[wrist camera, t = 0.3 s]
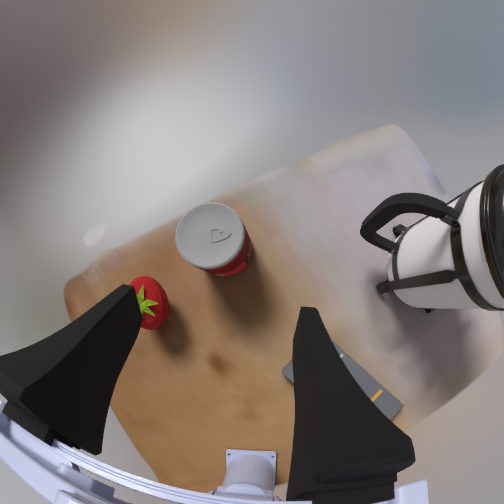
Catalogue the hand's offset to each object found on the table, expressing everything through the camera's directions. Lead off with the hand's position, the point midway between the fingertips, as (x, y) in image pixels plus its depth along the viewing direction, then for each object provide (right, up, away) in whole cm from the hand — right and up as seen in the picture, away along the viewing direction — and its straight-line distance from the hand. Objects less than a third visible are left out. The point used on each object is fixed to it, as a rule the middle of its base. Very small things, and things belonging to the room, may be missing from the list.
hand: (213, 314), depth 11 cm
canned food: (-2, +3, +30) cm, 30 cm away
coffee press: (+26, 0, +27) cm, 37 cm away
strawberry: (-12, -5, +29) cm, 32 cm away
